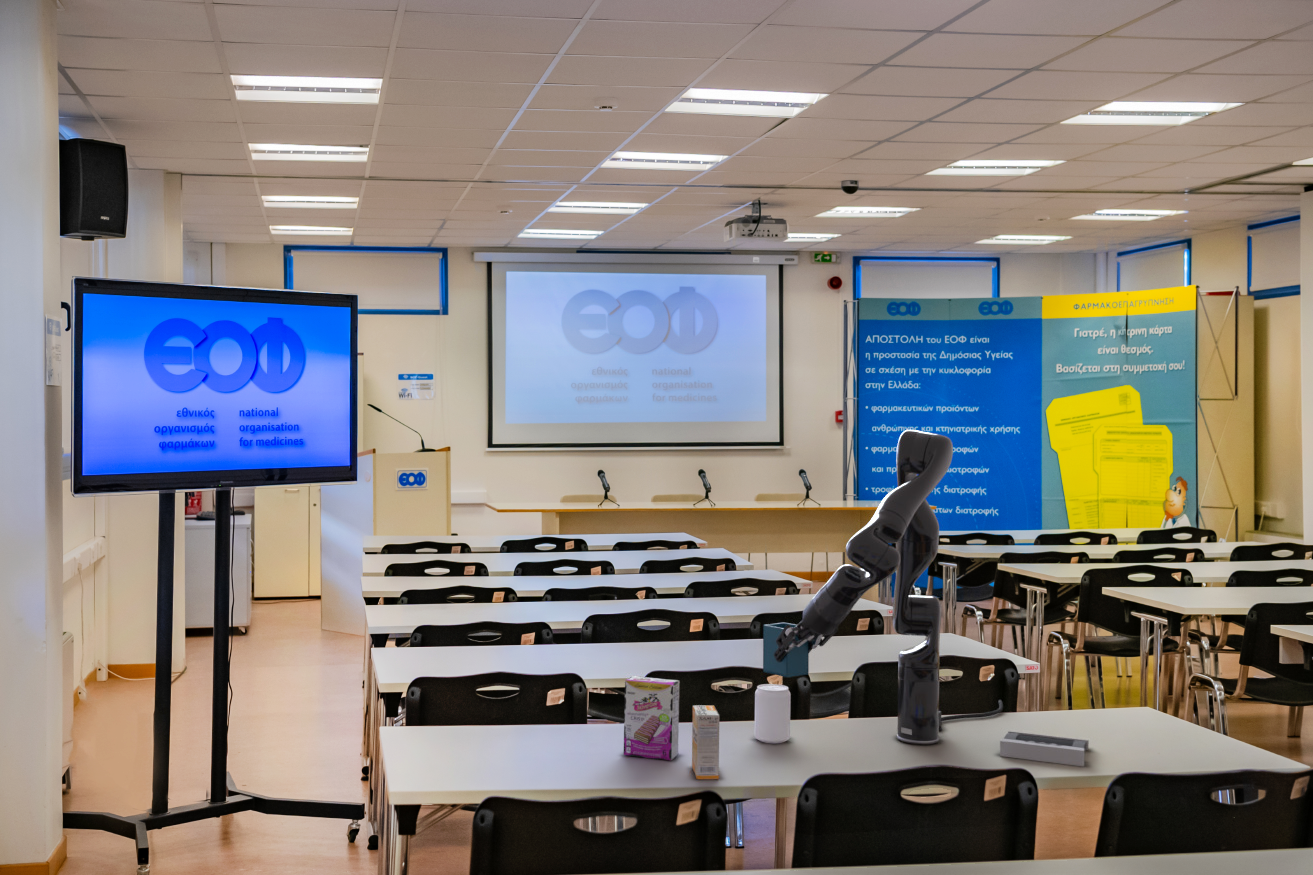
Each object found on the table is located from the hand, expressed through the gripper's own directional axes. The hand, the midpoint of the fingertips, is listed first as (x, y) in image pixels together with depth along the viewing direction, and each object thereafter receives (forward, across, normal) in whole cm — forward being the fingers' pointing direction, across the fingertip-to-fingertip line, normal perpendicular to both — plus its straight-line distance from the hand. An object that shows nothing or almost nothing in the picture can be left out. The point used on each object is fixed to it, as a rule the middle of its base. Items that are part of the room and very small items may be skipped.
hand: (788, 656), depth 233 cm
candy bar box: (+30, -21, -1) cm, 37 cm away
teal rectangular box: (+2, 0, +4) cm, 5 cm away
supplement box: (+19, -20, -13) cm, 30 cm away
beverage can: (+27, +10, -5) cm, 29 cm away
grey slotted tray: (-3, +54, -35) cm, 64 cm away
